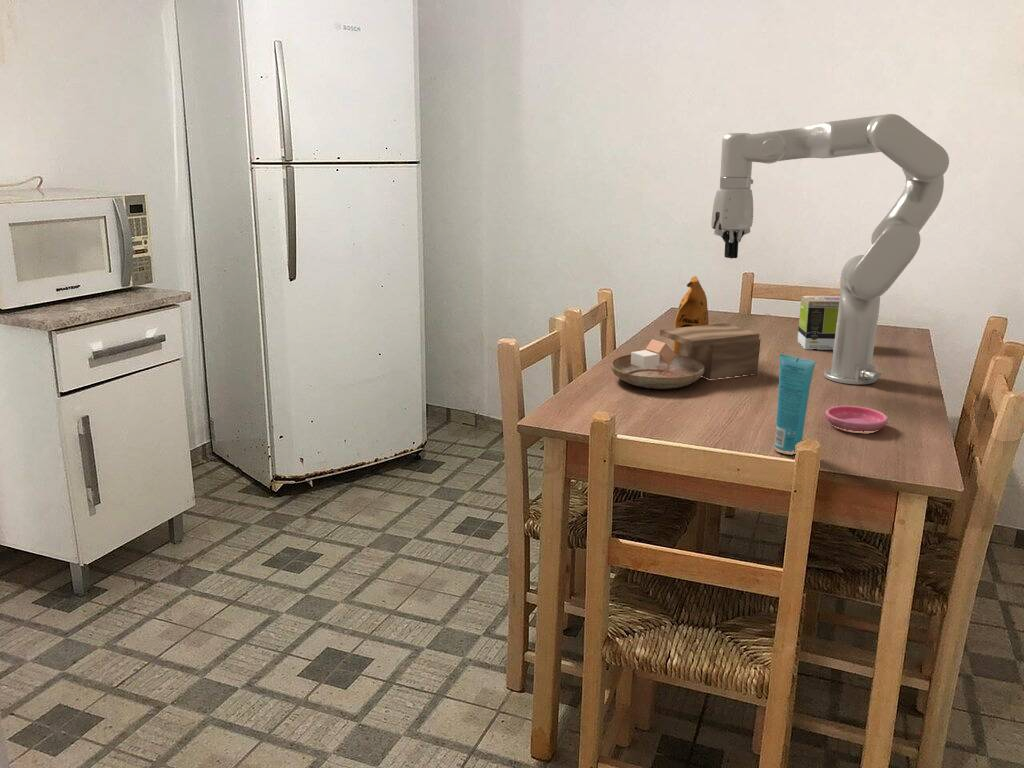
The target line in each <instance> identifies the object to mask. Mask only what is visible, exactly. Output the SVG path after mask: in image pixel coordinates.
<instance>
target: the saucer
mask: <svg viewBox="0 0 1024 768" xmlns="http://www.w3.org/2000/svg"><path fill="white" fill-rule="evenodd" d="M824 415H825V418H826V419H827V421H828V422H829V424H830V425H831V424H832V425H834V426H836V427H839V428H842V429H846V430H852V431H863V432H864V431H876V430H879V431H880V430H881V429H882V428H884V427H885V426H886V425H887V424H888V420H889V417H888V416H887V415H886V414H885V413H884V412H882V411H879V410H877V409H874V408H869V407H865V406H864V407H863V406H858V405H838V406H837V405H836V406H832V407H829V408H828V409H826V410H825V414H824ZM841 418H842V419H841ZM832 425H831V426H832Z"/></svg>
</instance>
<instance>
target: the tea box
mask: <svg viewBox="0 0 1024 768" xmlns="http://www.w3.org/2000/svg"><path fill="white" fill-rule="evenodd" d="M839 299H840V295H838V296H837V295H835V296H834V295H801V298H800V307H799V321H798V328H797V343H798V344H799V343H800V344H801V345H800V344H799V345H800V346H801V347H802V346H803V347H802V348H803V349H804V350H813V349H817V350H820V351H824V350H825V351H827V350H828V351H833V350H834V341H835V333H836V325H837V317H838V309H839Z"/></svg>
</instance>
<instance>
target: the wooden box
mask: <svg viewBox="0 0 1024 768" xmlns="http://www.w3.org/2000/svg"><path fill="white" fill-rule="evenodd" d="M760 335H761V334H760V333H758V332H754V331H752V330H749V329H745V328H742V327H738V326H735V325H731V324H729V323H725V322H724V323H722V322H721V323H713V324H712V323H711V324H709V325H702V326H691V327H681V328H674V327H672V328H661V329H659V336H661V337H663V338H667V339H670V340H672V341H673V342H674V341H677V342H680V347H679V355H682V356H686V357H690V358H693V359H695V360H697V361H699V362H701V363H702V364H703V365H704V369H705V370H704V374H703V375H702V376H703V377H705V378H708V379H718V378H726V377H735V376H743V375H751V374H757V375H758V370H759V361H760V352H761V351H760V350H761V349H760V348H761V339H760Z"/></svg>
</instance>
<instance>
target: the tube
mask: <svg viewBox="0 0 1024 768" xmlns="http://www.w3.org/2000/svg"><path fill="white" fill-rule="evenodd" d="M816 362H817V361H816V360H810V359H807V358H801V357H796V356H793V355H788V354H783V353H779V374H778V375H779V377H778V391H777V392H778V393H777V394H778V395H777V409H776V410H777V413H776V425H775V427H776V428H775V438H774V448H775V447H776V448H778V449H780V450H783V451H789V452H790V451H791V452H792V451H793V450H794V452H795V445H796V444H797V443H798V442H800V441H802V442H803V436H804V429H805V420H806V414H807V408H808V402H809V401H808V400H809V396H810V390H811V384H812V379H813V376H814V375H813V374H814V371H815V370H814V369H815V367H816V366H815V365H816Z"/></svg>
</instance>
